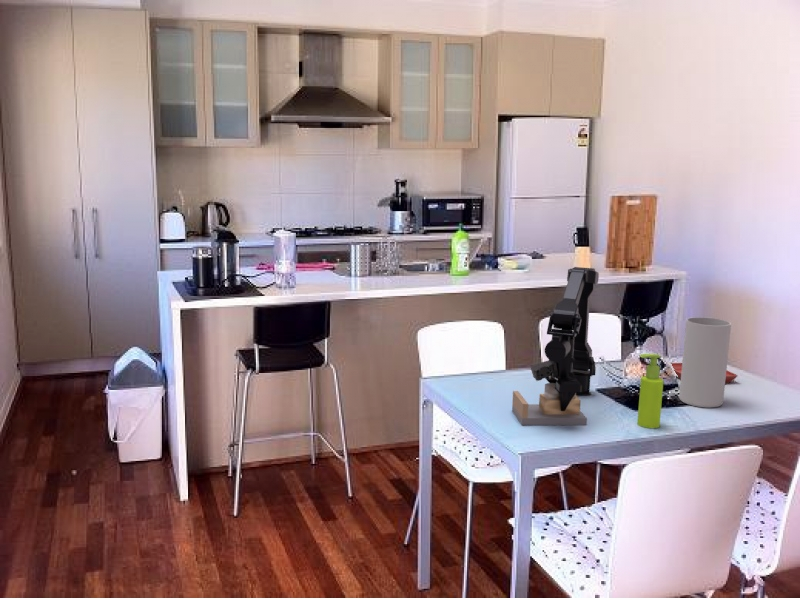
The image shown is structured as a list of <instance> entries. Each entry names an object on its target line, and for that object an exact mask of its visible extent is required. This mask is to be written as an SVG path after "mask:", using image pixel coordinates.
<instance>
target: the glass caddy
mask: <svg viewBox="0 0 800 600" xmlns="http://www.w3.org/2000/svg"><path fill="white" fill-rule="evenodd" d="M554 387H556V384H555V383H549V382H548V383H545V384H544V393H539V398H538V399H539V400H538V404H539V408H540V410H541V411H542V412H543V413H544V414H580V411H581V399H580V398H579V397H578V395H576V393H575V395H574V396H573V398H572V400H571V401H570V403H569V405H568V406H567V408H566V410H565V411H561V409H560V400H559V393H558V392H557V391H556V390H555V388H554Z"/></svg>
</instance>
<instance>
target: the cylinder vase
mask: <svg viewBox="0 0 800 600" xmlns="http://www.w3.org/2000/svg"><path fill="white" fill-rule="evenodd" d="M731 330H732V322H730V321H728V320H725V319H720V318H715V317H705V316H702V317H701V316H698V317H697V316H695V317H694V316H693V317H688V318H687V317H686V319H685V328H684V339H683V352H682V362H681V363H682V371H681V379H680V384H679V385H680V386H679V396H678V398H679V400H680V401H681V402H683V403H684V404H687V405H688V406H693V407H698V408H708V409H709V408H710V409H711V408H713V409H714V408H718V407H721V406H722V405H723V403H724V399H725V398H724V397H725V389H726V388H725V386H726V383H725V379H726V370H727V371H728V369H727V367H728V359H729V350H730V348H729V347H730V339H731Z"/></svg>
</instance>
